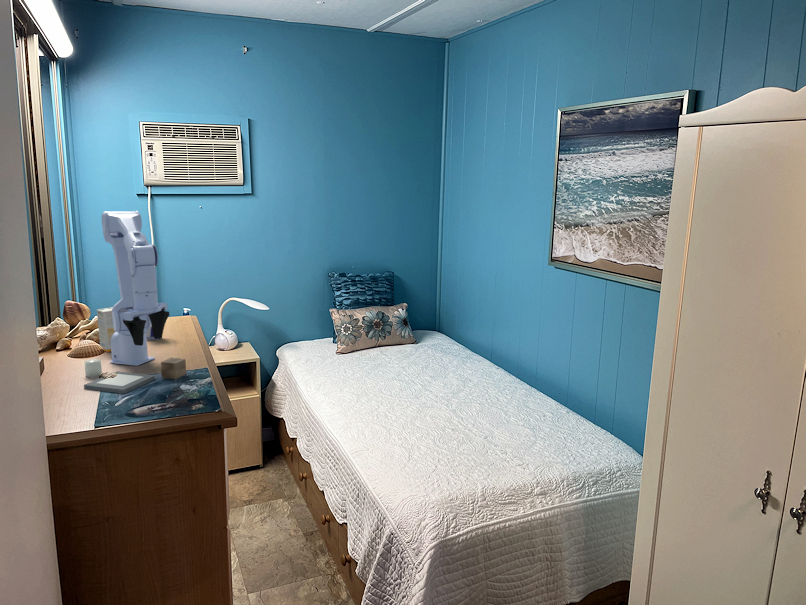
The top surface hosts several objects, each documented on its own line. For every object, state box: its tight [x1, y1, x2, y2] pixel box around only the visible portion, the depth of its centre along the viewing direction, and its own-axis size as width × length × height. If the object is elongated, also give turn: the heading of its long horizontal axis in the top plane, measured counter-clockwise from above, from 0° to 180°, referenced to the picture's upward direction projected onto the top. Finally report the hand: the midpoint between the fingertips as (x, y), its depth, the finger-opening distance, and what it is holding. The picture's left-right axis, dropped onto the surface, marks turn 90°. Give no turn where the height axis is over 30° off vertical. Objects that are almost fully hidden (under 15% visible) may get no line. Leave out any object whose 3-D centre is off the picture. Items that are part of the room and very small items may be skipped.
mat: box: [83, 371, 156, 394], centre depth 157 cm, size 12×12×1 cm
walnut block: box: [160, 357, 187, 380], centre depth 164 cm, size 4×4×4 cm
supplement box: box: [96, 306, 125, 353], centre depth 189 cm, size 8×5×13 cm, turn 140°
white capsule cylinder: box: [84, 358, 103, 378], centre depth 164 cm, size 4×4×4 cm
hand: (148, 341), depth 160 cm, fingers open, 7 cm apart
